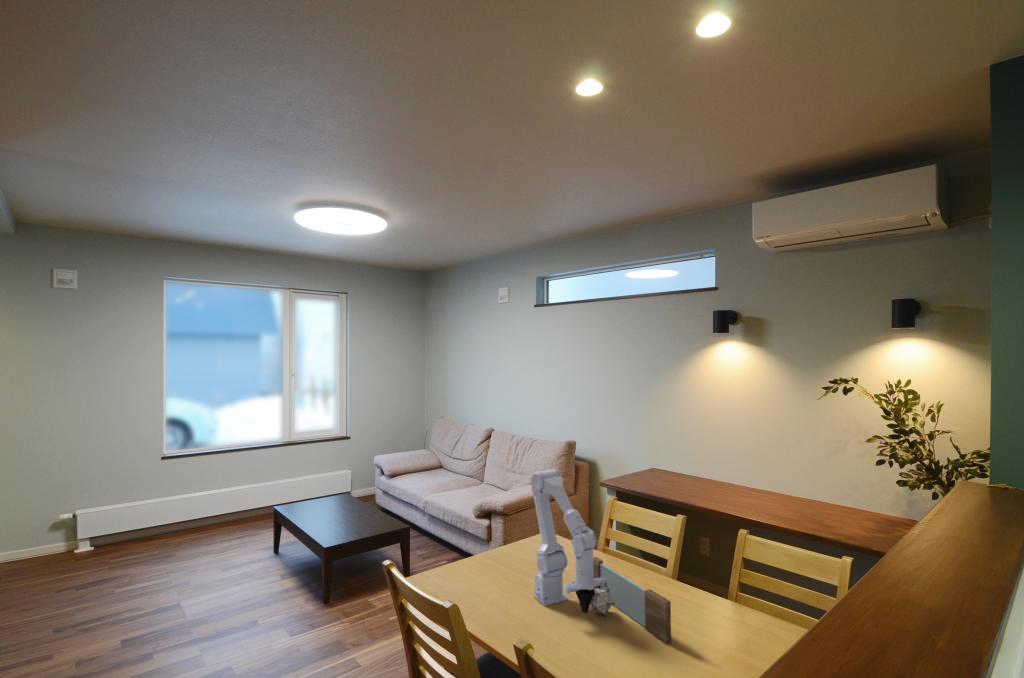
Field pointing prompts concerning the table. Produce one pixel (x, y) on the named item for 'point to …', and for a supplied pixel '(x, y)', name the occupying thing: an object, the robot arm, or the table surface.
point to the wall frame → (650, 610)
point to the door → (624, 593)
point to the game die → (601, 601)
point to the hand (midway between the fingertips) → (584, 611)
